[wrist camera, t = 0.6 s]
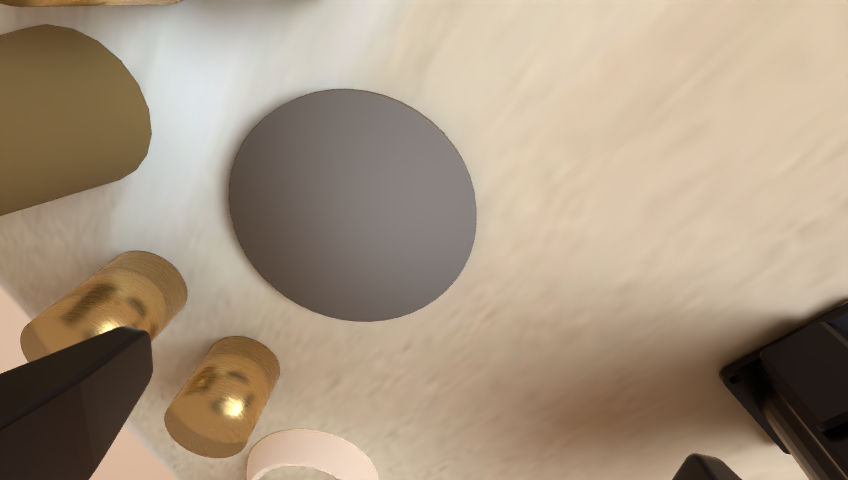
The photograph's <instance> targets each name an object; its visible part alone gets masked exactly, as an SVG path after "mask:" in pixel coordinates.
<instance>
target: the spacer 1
mask: <svg viewBox="0 0 848 480" xmlns="http://www.w3.org/2000/svg"><path fill="white" fill-rule="evenodd" d="M186 300H187V287H186V284H185V282H184V279H183V278H182V276H181V274H180V273H179V272H178V270H177V269H176V268H175V267H174V266H173V265H171V264H170V263H169V262H168V261H166V260H165V259H163V258H161V257H159V256H157V255H155V254H152V253H149V252H144V251H130V252H126V253H124V254H122V255H120V256H119V257H117V258H116V259H115V260H113V261H112V262H111V263H109V264H108V265H106V266H105V267H104V268H102V269H101V270H100V271H98V272H97V273H96V274H94V275H93V276H92V277H90V278H89V279H88V280H86V281H85V282H84V283H82V284H81V285H80V286H78V287H77V288H75V289H74V290H73V291H71V292H70V293H69V294H67V295H66V296H65V297H63V298H62V299H61V300H59V301H58V302H57V303H55V304H54V305H53V306H51V307H50V308H49V309H47V310H46V311H45V312H43V313H42V314H40V315H39V316H38V317H36V318H35V319H34V320H32V321H31V322H30V323H28V324H27V325H26V326H25V327H24V329H23V331H22V333H21V338H20V342H21V348H22V351H23V353H24V355H25V357H26V359H27V361H28V362H31V361H34V360H36V359H39V358H41V357H44V356H46V355H49V354H51V353H54V352H56V351H59V350H61V349H64V348H66V347H69V346H71V345H74V344H76V343H79V342H81V341H84V340H86V339H89V338H91V337H94V336H96V335H99V334H101V333H104V332H106V331H109V330H111V329H114V328H117V327H120V326H128V327H133V328H137V329H142V330H145V331H147V332H148V333H149V335H150V338H151V342H152V341H153V340H154V339H155V338H156V336H157V335H158V334H159V333H160V332H161V331H162V330H163V329H164V328H165V327H166V326H167V324H168V323H169V322H170V321H171V320H172V319H173V318H174V317H175V316H176V315H177V314H178V312H179V311H180V310H181V309H182V308H183V307H184V305H185V303H186Z"/></svg>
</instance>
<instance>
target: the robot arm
mask: <svg viewBox="0 0 848 480" xmlns="http://www.w3.org/2000/svg"><path fill="white" fill-rule="evenodd" d="M152 373H153V361H152V348H151V338H150V335H149V333H148V332H147V331H145V330H142V329H137V328H133V327H128V326H120V327H117V328H114V329H111V330H109V331H106V332H104V333H101V334H99V335H96V336H94V337H91V338H89V339H86V340H84V341H81V342H79V343H76V344H74V345H71V346H69V347H66V348H64V349H61V350H59V351H56V352H54V353H51V354H49V355H46V356H44V357H41V358H39V359H36V360H34V361H31V362H29V363H26V364H24V365H21V366H19V367H16V368H14V369H11V370H9V371H6V372H4V373H1V374H0V480H89V478H90V477H91V476H92V474H93V473H94V472H95V470H96V469H97V467H98V466H99V464H100V462H101V461H102V459H103V458H104V456H105V455H106V453H107V451H108V449H109V448H110V446H111V445H112V443H113V441H114V440H115V438H116V436H117V435H118V433H119V432H120V430H121V428H122V427H123V425H124V423H125V422H126V420H127V418H128V417H129V415H130V413H131V412H132V410H133V408H134V407H135V405H136V403H137V402H138V400H139V399H140V397H141V395H142V394H143V392H144V390H145V389H146V387H147V385H148V384H149V382H150V379H151V377H152ZM734 375H735V376H734ZM719 376H720V378H721V380H722V381H723V383H724V384H725V386H726V387H727V388H728V389H729V390H730V391H731V392H732V394H733V395H734V396H735V397H736V398H737V399H738V400H739V402H740V403H741V404H742V405H743V406H744V407H745V409H746V410H747V411H748V412H749V413H750V414H751V415H752V417H753V418H754V419H755V420H756V421H757V422H758V423H759V425H760V426H761V427H762V428H763V429H764V430H765V431H766V433H767V434H768V435H769V436H770V437H771V438H772V439H773V441H774V442H775V443H776V444H777V445H778V446H779V448H780V449H781V450H782V451H783V452H784V453H786V454H791V455H792V456H793V457H794V459H795V460H796V462H797V463H798V464H799V466H800V467H801V469H802V470H803V471H804V473H805V474H806V476H807V477H808V478H809V480H848V303H847V304H845V305H843V306H841V307H839V308H837V309H835V310H833V311H831V312H829V313H827V314H825V315H824V316H822V317H820V318H818V319H816V320H814V321H812V322H810V323H808V324H806V325H804V326H802V327H801V328H799V329H797V330H795V331H793V332H791V333H789V334H787V335H785V336H783V337H781V338H779V339H777V340H776V341H774V342H772V343H770V344H768V345H766V346H764V347H762V348H760V349H758V350H756V351H754V352H752V353H751V354H749V355H747V356H745V357H743V358H741V359H739V360H737V361H735V362H733V363H731V364H729V365H728V366H726V367H724V368H723V369H722V370H721V371H720V374H719ZM732 376H734V377H732ZM672 480H742V479H741V478H740V477H738V476H737V475H736V474H735V473H734V472H733V471H732V470H731V469H730V468H729V467H728V466H727V465H726V464H725V463H724V462H722V461H721V460H720V459H718V458H715V457H711V456H706V455H702V454H697V453H693V454H691V455H689V456H688V457H687V458H686V460H685V461H684V463H683V464H682V466H681V467H680V469H679V470H678V472H677V473H676V475H675V476H674V478H673V479H672Z"/></svg>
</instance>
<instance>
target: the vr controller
mask: <svg viewBox="0 0 848 480" xmlns="http://www.w3.org/2000/svg"><path fill="white" fill-rule="evenodd" d="M284 466H303V467H310V468H314V469H318V470H321V471H323V472H326V473H328V474H330V475H332V476H334V477H336V478H337V479H339V480H379V478H378V475H377V471H376V469H375V467H374V465H373V463H372V462H371V460H370V459H369V458H368V457H367V456H366V455H365V454H364V453H363V452H362V451H361V450H360V449H358V448H357V447H356V446H355V445H353V444H351V443H350V442H348V441H346V440H344V439H342V438H340V437H337V436H335V435H332V434H329V433H325V432H321V431H317V430H308V429H290V430H284V431H279V432H276V433H273V434H271V435H268V436H266V437H265V438H263V439H262V440H260V441H259V442H258V443H257V444H256V445H255V446H254V447H253V449H252V450H251V452H250V455H249V457H248V463H247V471H246V480H259V479H260V478H261V477H262V476H263V475H264V474H265V473H267V472H269V471H270V470H273V469H276V468H279V467H284Z"/></svg>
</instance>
